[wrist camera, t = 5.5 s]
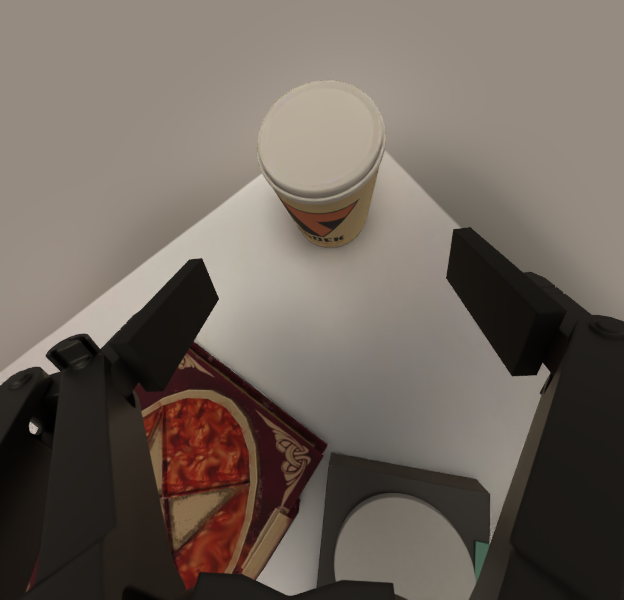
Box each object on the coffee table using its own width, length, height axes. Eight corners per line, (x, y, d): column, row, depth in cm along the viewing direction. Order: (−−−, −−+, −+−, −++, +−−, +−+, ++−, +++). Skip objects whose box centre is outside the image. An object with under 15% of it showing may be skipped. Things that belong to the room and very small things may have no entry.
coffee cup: (278, 239, 31) (232, 174, 19) (309, 168, 32) (284, 65, 20) (355, 267, 29) (356, 213, 17) (386, 190, 30) (407, 90, 18)
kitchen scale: (476, 479, 24) (495, 499, 21) (473, 651, 22) (493, 703, 19) (331, 452, 26) (327, 467, 23) (316, 607, 24) (310, 647, 21)
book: (181, 330, 31) (149, 326, 27) (335, 448, 26) (329, 469, 21) (33, 549, 30) (-30, 588, 25) (167, 722, 25) (119, 812, 20)
